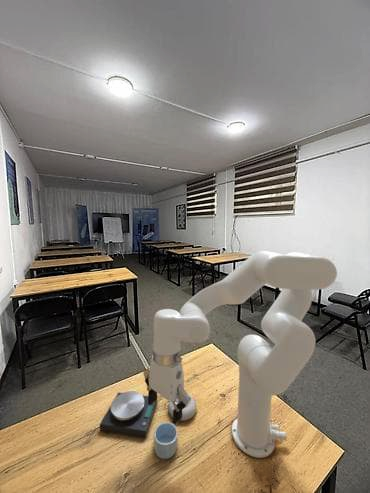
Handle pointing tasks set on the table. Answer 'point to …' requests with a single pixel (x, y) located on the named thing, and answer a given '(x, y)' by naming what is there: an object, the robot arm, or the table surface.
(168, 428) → the light blue cup
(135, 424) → the scale
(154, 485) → the table surface
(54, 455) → the table surface
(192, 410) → the donut
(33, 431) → the table surface
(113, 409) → the scale pan
